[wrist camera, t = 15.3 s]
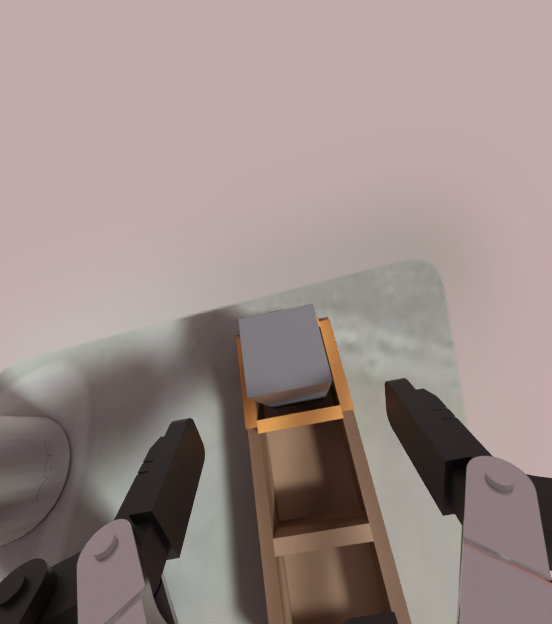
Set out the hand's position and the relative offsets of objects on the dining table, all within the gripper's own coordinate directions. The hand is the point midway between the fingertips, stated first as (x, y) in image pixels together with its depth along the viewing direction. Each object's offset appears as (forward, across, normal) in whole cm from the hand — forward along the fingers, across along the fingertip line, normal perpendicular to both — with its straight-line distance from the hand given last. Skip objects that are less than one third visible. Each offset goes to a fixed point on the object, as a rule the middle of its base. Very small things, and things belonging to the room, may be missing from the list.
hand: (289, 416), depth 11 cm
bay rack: (+6, 0, +10) cm, 12 cm away
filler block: (+10, 0, +5) cm, 11 cm away
